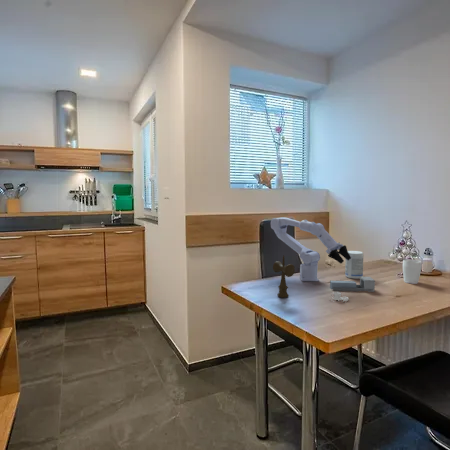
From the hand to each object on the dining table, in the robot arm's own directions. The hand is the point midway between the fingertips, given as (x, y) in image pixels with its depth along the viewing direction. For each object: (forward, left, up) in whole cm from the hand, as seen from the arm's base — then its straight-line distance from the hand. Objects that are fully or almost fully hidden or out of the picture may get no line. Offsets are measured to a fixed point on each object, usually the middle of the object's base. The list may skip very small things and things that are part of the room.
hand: (346, 260), depth 163 cm
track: (+1, -3, -14) cm, 14 cm away
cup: (+38, +13, -14) cm, 43 cm away
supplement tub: (+10, +21, -14) cm, 27 cm away
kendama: (-34, -18, -14) cm, 41 cm away
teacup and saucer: (-8, -24, -15) cm, 29 cm away
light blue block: (-2, -3, -14) cm, 15 cm away
